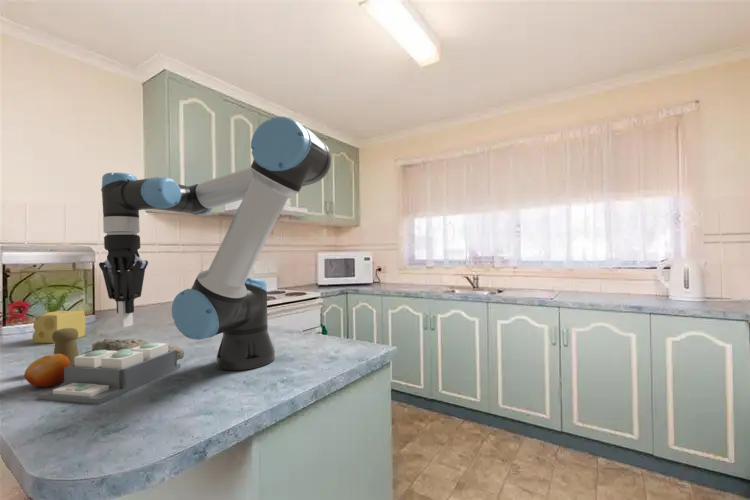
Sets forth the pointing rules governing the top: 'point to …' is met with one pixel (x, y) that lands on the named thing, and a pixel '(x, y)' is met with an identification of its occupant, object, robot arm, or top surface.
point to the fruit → (47, 370)
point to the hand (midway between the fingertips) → (126, 326)
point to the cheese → (57, 324)
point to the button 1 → (92, 358)
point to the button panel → (109, 379)
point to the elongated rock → (128, 345)
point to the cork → (66, 343)
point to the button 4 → (151, 349)
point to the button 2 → (122, 360)
